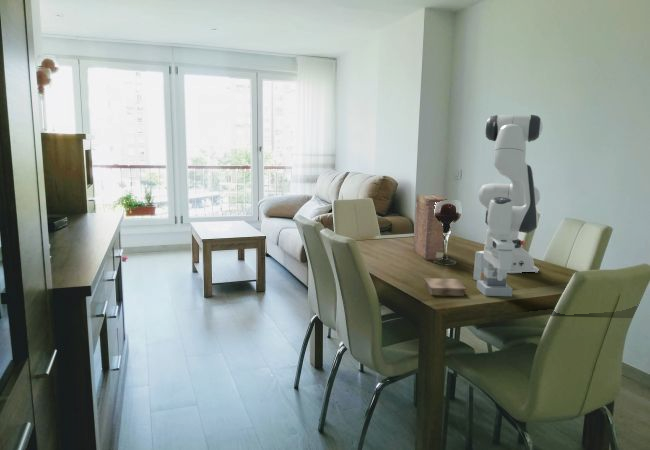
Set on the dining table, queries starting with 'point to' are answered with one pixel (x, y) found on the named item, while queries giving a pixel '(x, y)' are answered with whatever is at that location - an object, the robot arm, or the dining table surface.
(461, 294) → the tan flat square slab
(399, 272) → the dining table surface
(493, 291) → the grey stand
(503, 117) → the robot arm
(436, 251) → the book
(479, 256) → the skincare box
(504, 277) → the block
